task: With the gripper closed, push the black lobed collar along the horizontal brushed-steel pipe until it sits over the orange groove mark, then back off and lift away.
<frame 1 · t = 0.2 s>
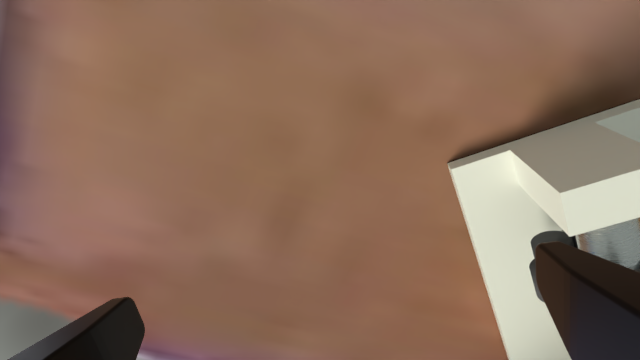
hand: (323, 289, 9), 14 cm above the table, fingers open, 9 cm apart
pipe: (629, 348, 20), point 4 cm above the table
base board: (577, 285, 25), on the table
black lobed collar: (613, 263, 18), point 5 cm above the table, slide at 0.0 cm
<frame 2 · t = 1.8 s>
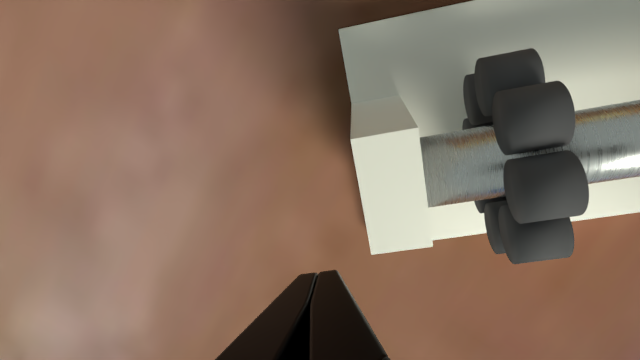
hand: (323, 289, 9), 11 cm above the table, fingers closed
base board: (592, 102, 18), on the table
black lobed collar: (510, 158, 14), point 5 cm above the table, slide at 0.0 cm
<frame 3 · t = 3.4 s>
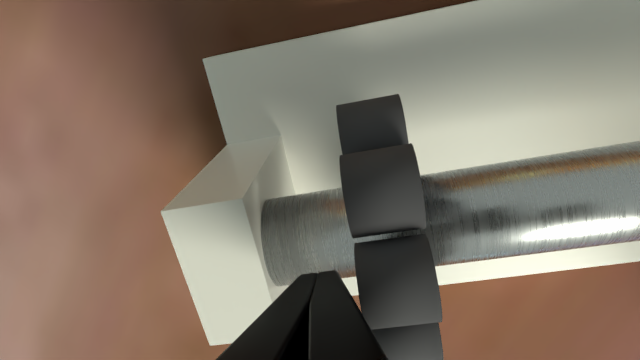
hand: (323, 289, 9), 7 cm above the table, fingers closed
pipe: (582, 198, 10), point 4 cm above the table
base board: (511, 142, 15), on the table
black lobed collar: (387, 225, 11), point 5 cm above the table, slide at 0.1 cm, touching gripper
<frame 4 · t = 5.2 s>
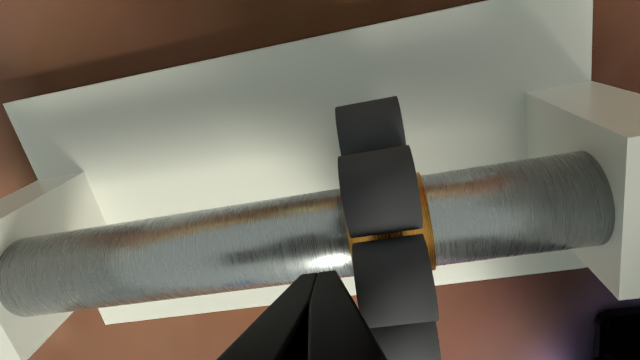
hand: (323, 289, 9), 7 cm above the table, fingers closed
pipe: (281, 240, 12), point 4 cm above the table
base board: (302, 177, 16), on the table
black lobed collar: (386, 226, 11), point 5 cm above the table, slide at 7.9 cm, touching gripper
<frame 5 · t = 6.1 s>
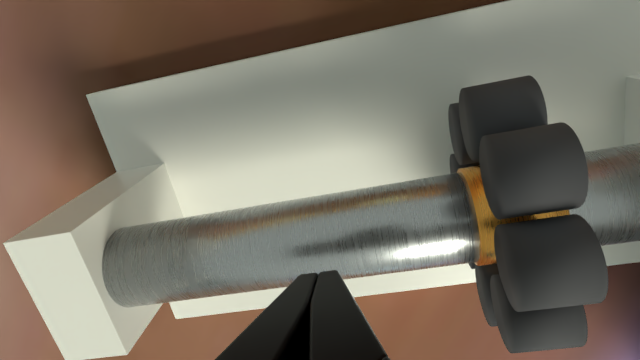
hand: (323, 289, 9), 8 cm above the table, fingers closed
pipe: (392, 227, 11), point 4 cm above the table
base board: (383, 167, 16), on the table
black lobed collar: (505, 211, 11), point 5 cm above the table, slide at 8.0 cm
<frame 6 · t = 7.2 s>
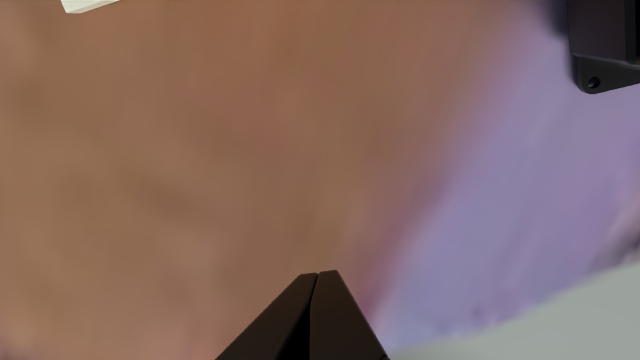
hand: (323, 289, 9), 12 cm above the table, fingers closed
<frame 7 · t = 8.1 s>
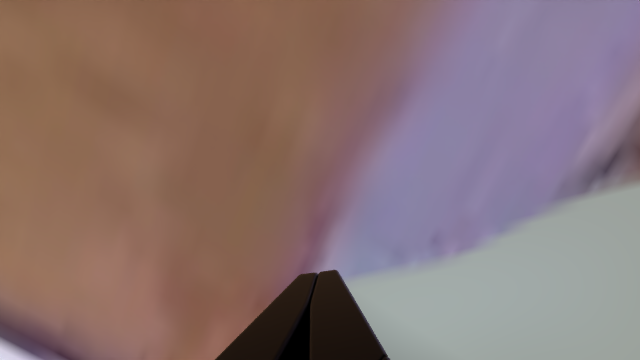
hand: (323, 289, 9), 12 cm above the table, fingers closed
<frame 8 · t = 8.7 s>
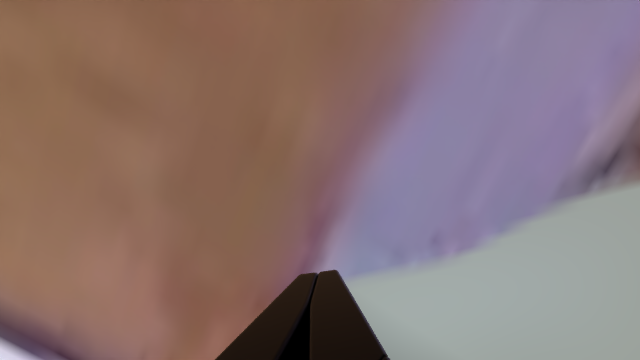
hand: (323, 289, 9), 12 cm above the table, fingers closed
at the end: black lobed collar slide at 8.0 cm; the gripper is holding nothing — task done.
